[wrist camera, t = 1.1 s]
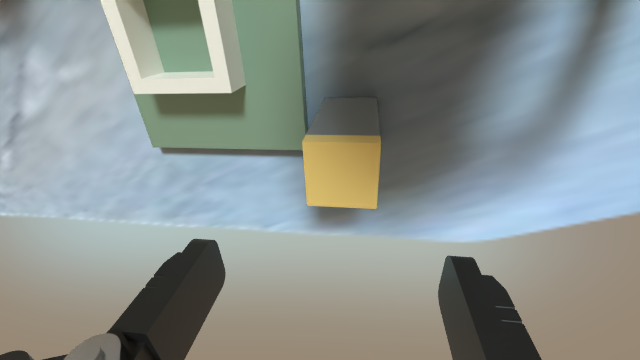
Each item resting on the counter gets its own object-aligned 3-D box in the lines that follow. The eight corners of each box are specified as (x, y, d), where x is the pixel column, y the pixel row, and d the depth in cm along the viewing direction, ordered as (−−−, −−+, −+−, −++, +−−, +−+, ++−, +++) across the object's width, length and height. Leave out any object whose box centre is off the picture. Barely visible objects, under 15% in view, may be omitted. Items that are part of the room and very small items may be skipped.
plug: (376, 97, 22) (381, 143, 14) (374, 145, 24) (376, 209, 16) (324, 97, 22) (302, 141, 15) (326, 144, 24) (307, 205, 17)
